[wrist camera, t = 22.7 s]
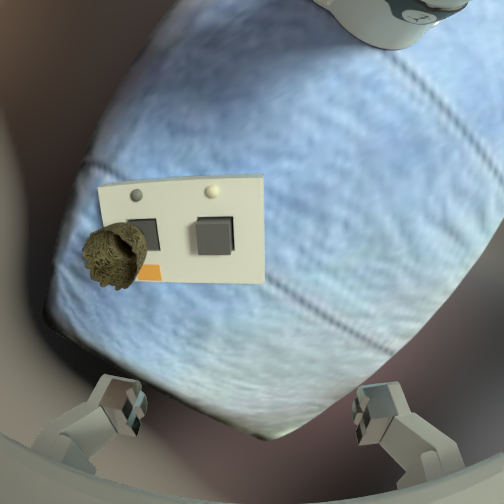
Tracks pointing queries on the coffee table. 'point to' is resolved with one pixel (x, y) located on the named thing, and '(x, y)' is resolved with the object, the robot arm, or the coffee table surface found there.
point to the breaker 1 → (148, 231)
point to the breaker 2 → (214, 235)
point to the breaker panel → (193, 224)
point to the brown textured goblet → (115, 254)
